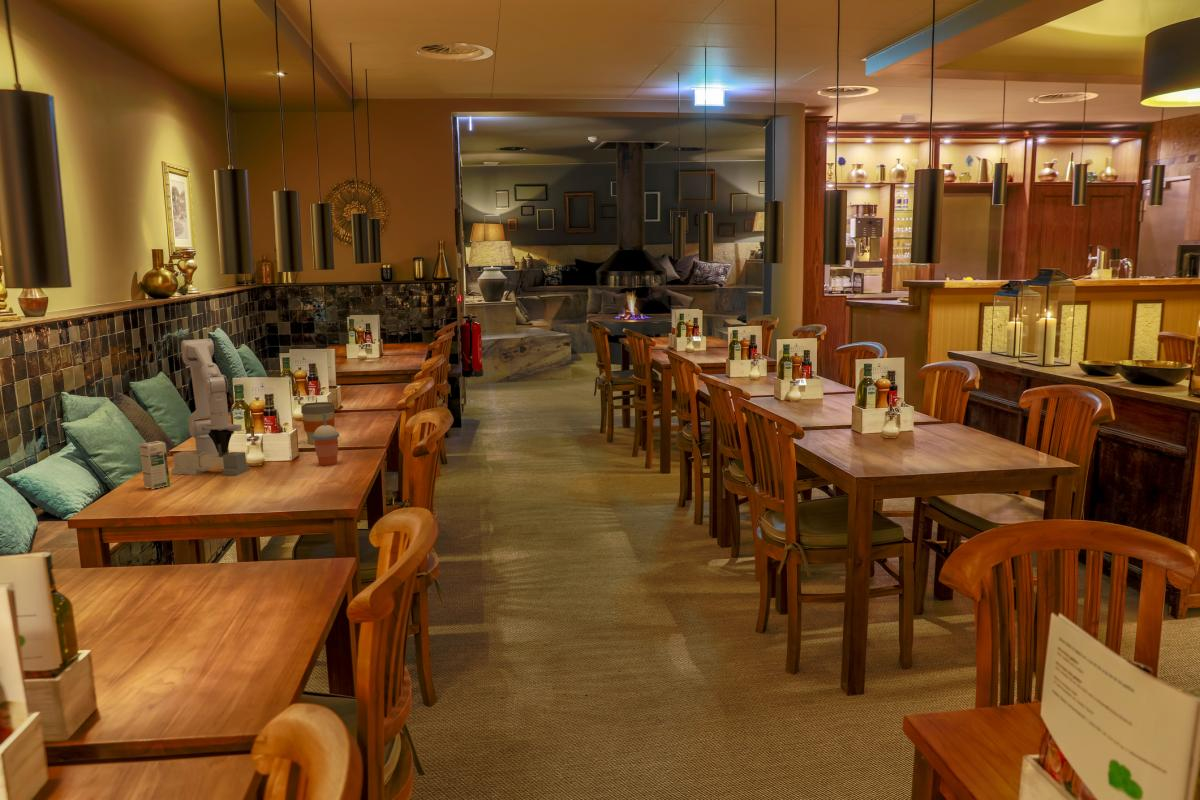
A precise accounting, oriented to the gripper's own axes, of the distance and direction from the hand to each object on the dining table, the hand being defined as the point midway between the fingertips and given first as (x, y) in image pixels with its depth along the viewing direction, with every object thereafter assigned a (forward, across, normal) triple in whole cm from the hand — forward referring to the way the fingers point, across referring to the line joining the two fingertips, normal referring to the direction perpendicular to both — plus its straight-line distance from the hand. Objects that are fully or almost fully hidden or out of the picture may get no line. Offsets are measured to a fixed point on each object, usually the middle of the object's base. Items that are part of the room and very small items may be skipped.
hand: (222, 451), depth 298 cm
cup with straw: (+7, +30, +15) cm, 35 cm away
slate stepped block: (+7, +4, 0) cm, 8 cm away
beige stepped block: (+7, -12, 0) cm, 14 cm away
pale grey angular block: (+5, -2, 0) cm, 5 cm away
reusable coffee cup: (+7, +9, +50) cm, 51 cm away
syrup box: (+7, -11, -20) cm, 24 cm away
